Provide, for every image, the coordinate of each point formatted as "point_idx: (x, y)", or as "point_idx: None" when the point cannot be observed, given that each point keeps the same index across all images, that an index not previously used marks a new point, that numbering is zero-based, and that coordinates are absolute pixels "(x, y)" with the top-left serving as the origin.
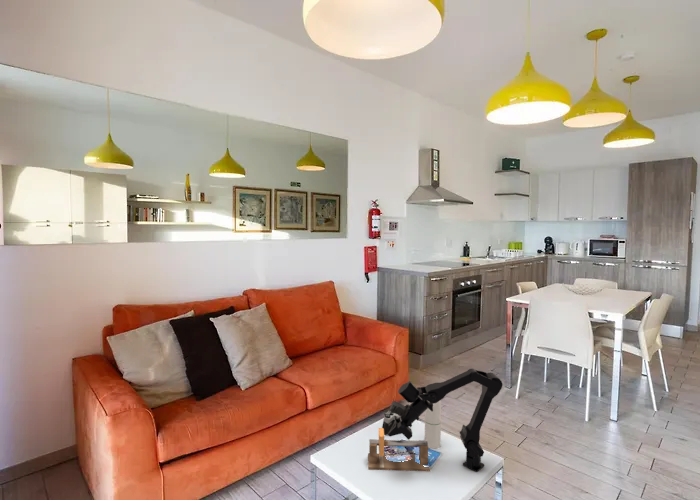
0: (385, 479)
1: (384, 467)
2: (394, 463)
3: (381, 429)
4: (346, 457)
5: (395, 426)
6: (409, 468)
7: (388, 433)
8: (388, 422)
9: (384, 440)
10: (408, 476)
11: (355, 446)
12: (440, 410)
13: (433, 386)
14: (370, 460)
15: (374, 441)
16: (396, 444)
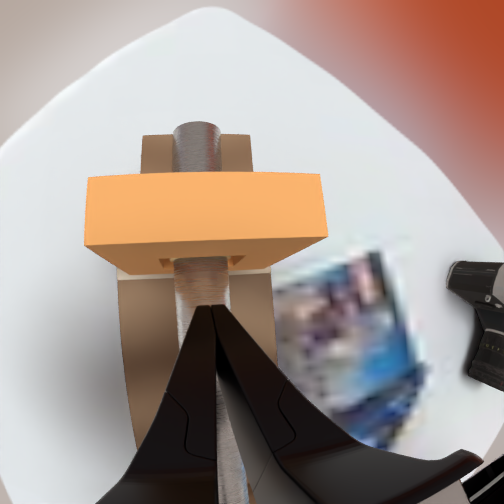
0: (43, 288)
1: (119, 284)
2: (169, 349)
3: (284, 206)
4: (227, 88)
5: (127, 475)
6: (134, 433)
7: (212, 311)
8: (497, 292)
9: (198, 266)
10: (85, 417)
11: (331, 130)
12: None
13: None
14: None
15: (180, 165)
16: None
